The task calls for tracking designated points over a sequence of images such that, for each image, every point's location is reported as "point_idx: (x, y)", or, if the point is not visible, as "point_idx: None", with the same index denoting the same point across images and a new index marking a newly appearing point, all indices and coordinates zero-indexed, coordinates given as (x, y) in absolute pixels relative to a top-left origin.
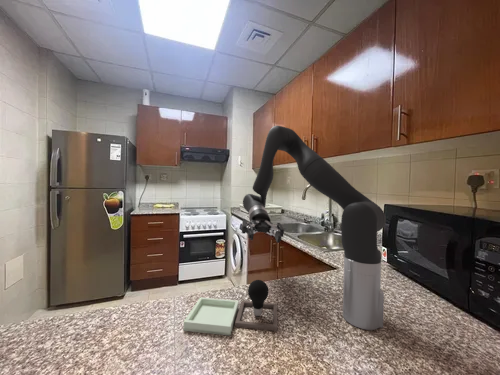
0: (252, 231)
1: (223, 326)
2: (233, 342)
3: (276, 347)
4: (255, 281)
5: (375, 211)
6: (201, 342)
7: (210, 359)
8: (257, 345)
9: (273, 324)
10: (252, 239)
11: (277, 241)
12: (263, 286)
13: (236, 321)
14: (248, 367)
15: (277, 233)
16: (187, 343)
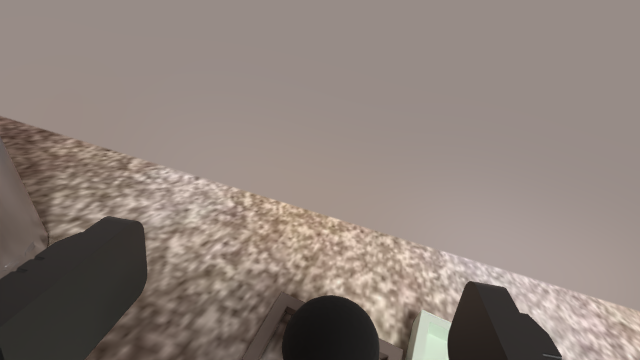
0: (511, 340)
1: (441, 318)
2: (404, 298)
3: (308, 255)
4: (355, 326)
5: None
6: None
7: (450, 272)
8: (349, 273)
9: (287, 304)
10: (455, 329)
11: (146, 269)
12: (322, 298)
13: (398, 355)
14: (378, 236)
15: (63, 268)
16: None
